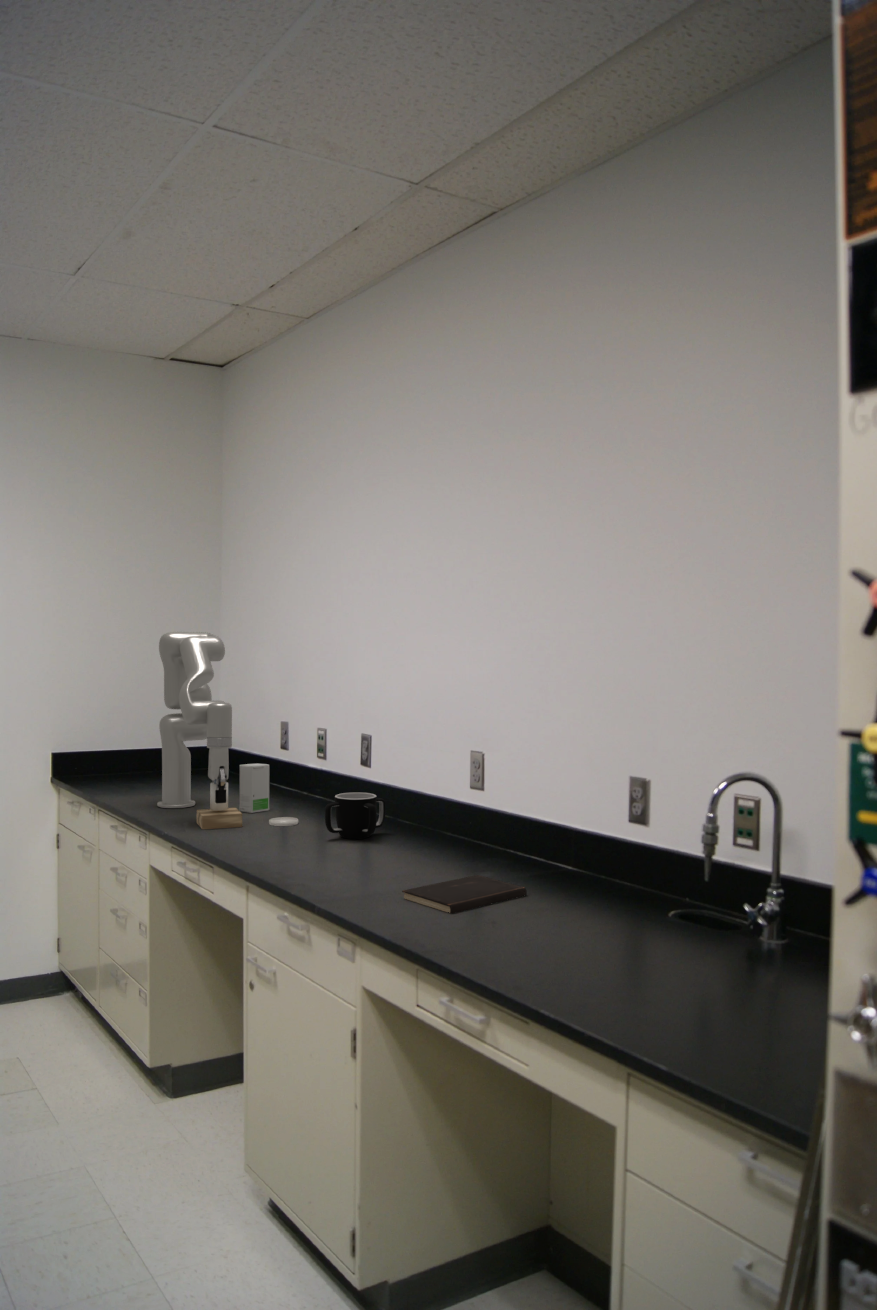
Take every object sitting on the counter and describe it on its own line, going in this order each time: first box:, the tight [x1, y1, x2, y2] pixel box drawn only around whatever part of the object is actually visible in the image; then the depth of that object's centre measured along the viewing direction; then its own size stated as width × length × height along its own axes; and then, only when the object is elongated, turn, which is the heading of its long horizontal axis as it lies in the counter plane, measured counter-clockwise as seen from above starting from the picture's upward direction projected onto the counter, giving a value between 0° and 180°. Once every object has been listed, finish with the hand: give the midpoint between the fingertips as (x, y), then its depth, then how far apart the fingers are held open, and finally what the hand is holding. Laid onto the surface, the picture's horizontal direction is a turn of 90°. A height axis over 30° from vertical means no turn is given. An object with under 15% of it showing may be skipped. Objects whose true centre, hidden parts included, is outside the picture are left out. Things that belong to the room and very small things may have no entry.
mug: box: [324, 792, 386, 840], centre depth 282 cm, size 16×16×12 cm
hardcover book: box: [401, 874, 527, 914], centre depth 216 cm, size 16×23×2 cm
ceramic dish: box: [268, 816, 299, 827], centre depth 302 cm, size 9×9×1 cm
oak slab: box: [196, 807, 243, 830], centre depth 299 cm, size 12×12×4 cm
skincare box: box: [238, 762, 270, 814], centre depth 324 cm, size 8×7×16 cm
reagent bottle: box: [209, 779, 229, 811], centre depth 299 cm, size 5×5×9 cm
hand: (219, 800), depth 299 cm, fingers closed on reagent bottle, 5 cm apart
